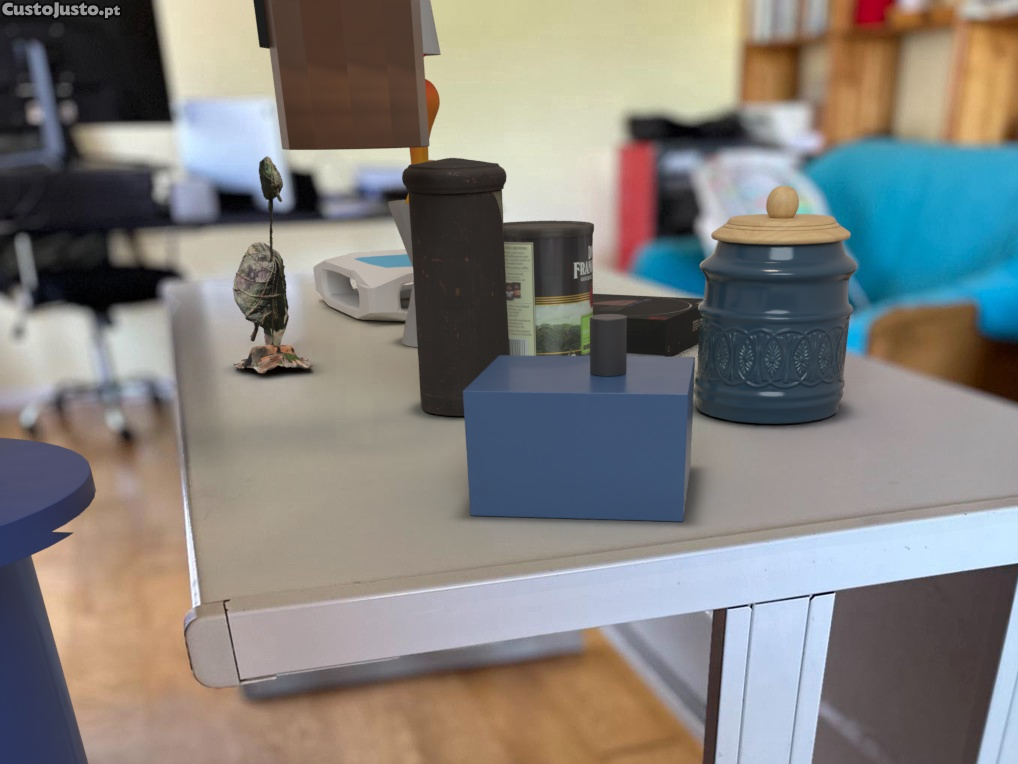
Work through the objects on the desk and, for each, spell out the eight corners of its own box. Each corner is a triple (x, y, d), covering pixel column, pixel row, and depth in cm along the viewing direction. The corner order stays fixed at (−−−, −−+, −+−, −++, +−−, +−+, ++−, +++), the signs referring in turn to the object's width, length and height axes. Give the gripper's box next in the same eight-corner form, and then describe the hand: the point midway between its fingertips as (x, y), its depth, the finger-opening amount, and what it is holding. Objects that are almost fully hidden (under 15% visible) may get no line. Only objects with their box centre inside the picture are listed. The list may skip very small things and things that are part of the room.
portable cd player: (585, 327, 137) (584, 293, 135) (714, 335, 130) (716, 299, 128) (524, 349, 124) (523, 312, 122) (664, 359, 117) (665, 320, 115)
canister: (664, 412, 96) (671, 188, 87) (742, 387, 104) (756, 180, 96) (795, 434, 89) (817, 191, 80) (867, 405, 97) (894, 183, 88)
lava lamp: (456, 349, 125) (432, -24, 107) (386, 345, 127) (352, -18, 110) (487, 336, 132) (470, -15, 114) (421, 333, 135) (394, -10, 117)
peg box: (470, 515, 72) (458, 331, 66) (503, 466, 82) (496, 302, 76) (683, 521, 70) (690, 332, 64) (690, 470, 80) (697, 303, 74)
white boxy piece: (448, 290, 169) (445, 246, 166) (522, 313, 147) (521, 263, 144) (315, 300, 161) (310, 254, 158) (372, 327, 139) (367, 274, 136)
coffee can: (601, 369, 113) (601, 219, 106) (585, 390, 104) (584, 228, 97) (505, 367, 115) (499, 219, 108) (481, 388, 106) (472, 228, 99)
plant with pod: (305, 356, 123) (279, 154, 113) (318, 375, 113) (290, 156, 103) (231, 362, 120) (198, 156, 110) (238, 381, 111) (202, 158, 101)
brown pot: (263, 150, 78) (240, -20, 73) (310, 147, 87) (293, -5, 82) (408, 148, 76) (395, -26, 71) (440, 145, 86) (431, -9, 81)
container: (532, 401, 101) (525, 155, 91) (482, 422, 94) (468, 159, 84) (453, 393, 104) (438, 156, 94) (399, 413, 97) (377, 160, 87)
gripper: (353, -390, 70) (389, 48, 81) (145, -375, 71) (210, 53, 83) (317, -442, 63) (362, 42, 75) (89, -424, 65) (168, 47, 76)
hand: (282, 47), depth 79 cm, fingers closed on brown pot
